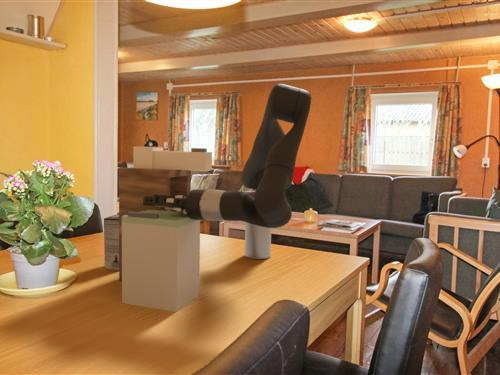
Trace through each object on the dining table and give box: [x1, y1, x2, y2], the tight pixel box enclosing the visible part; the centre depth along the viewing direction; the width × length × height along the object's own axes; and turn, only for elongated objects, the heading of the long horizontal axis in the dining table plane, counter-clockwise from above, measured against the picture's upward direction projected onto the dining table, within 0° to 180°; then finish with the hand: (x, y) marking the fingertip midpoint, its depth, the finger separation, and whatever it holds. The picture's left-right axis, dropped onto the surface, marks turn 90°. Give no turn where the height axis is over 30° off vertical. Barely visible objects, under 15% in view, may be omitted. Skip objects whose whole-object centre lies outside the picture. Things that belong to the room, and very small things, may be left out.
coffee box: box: [103, 213, 119, 271], centre depth 137 cm, size 9×6×16 cm
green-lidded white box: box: [121, 210, 201, 313], centre depth 108 cm, size 12×15×22 cm
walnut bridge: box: [118, 166, 192, 282], centre depth 125 cm, size 14×15×32 cm
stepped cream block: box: [132, 146, 213, 172], centre depth 122 cm, size 6×22×6 cm, turn 71°
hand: (153, 203), depth 111 cm, fingers open, 7 cm apart
